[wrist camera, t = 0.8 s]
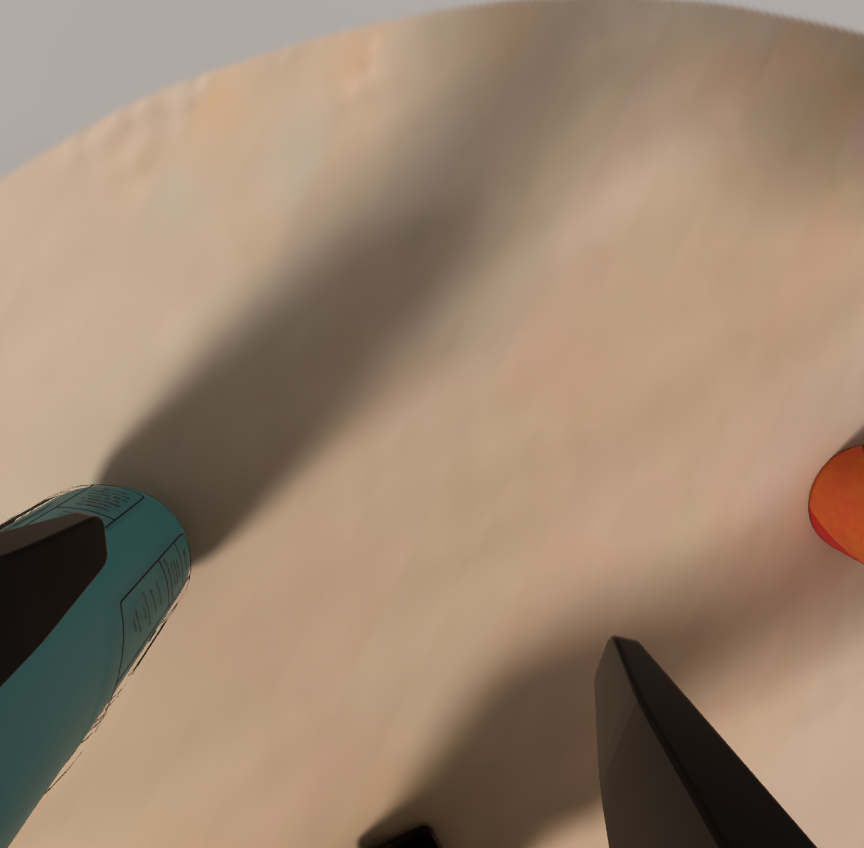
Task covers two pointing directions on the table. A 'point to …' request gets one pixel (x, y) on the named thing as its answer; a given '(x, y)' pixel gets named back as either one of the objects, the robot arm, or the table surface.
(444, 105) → the table surface
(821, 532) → the paper cup
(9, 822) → the beverage bottle
